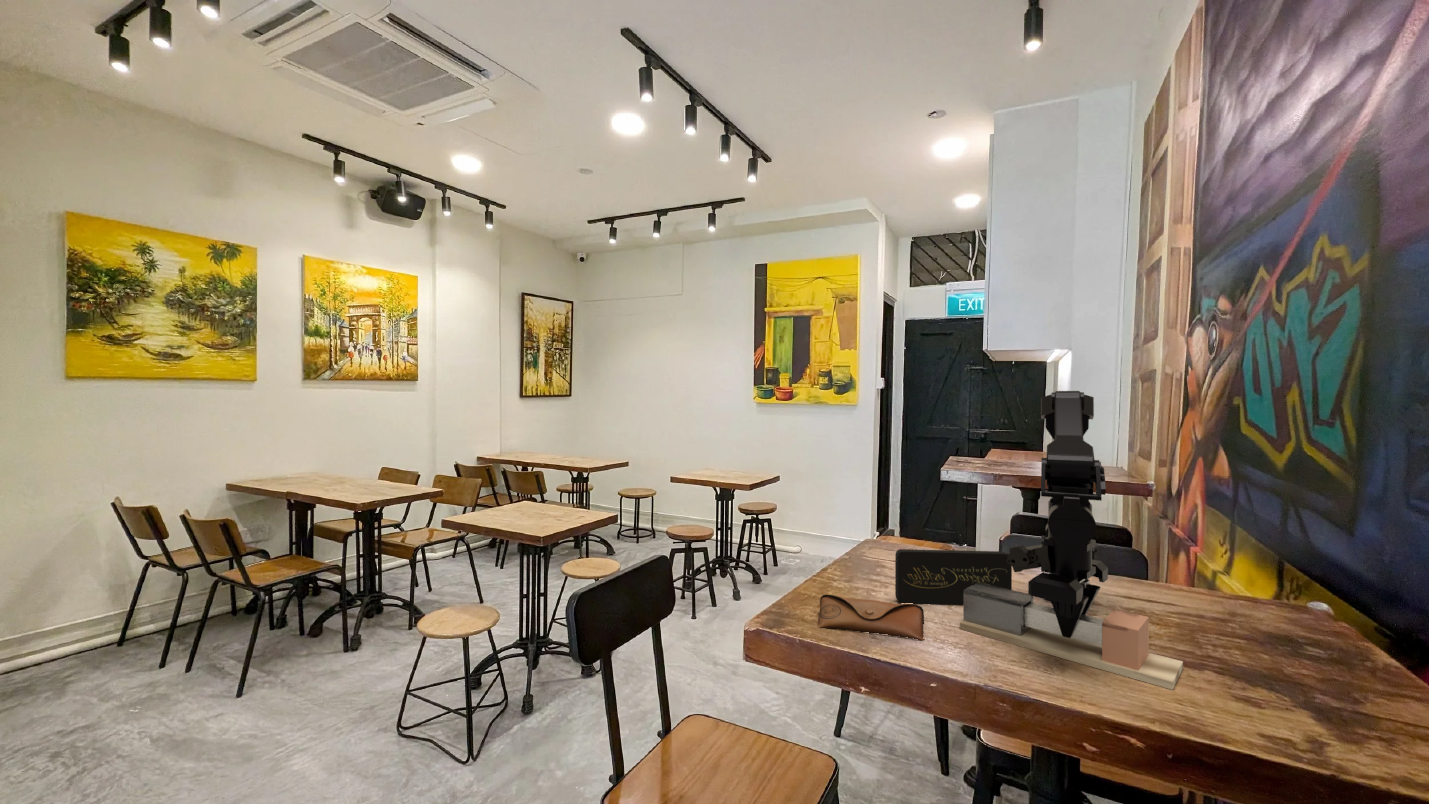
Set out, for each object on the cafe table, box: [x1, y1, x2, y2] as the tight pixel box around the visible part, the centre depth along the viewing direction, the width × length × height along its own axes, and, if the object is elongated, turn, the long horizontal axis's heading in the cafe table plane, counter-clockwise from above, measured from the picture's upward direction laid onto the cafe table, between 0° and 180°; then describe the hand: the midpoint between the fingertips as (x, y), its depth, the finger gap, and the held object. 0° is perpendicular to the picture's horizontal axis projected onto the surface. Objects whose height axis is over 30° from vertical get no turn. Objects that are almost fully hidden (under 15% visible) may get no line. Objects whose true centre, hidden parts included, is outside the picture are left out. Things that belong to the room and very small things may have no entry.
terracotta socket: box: [1102, 609, 1150, 670], centre depth 82 cm, size 7×4×6 cm, turn 134°
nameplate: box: [894, 548, 1013, 607], centre depth 107 cm, size 21×2×10 cm, turn 86°
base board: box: [959, 620, 1184, 691], centre depth 88 cm, size 9×28×1 cm, turn 44°
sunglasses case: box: [816, 594, 926, 641], centre depth 96 cm, size 18×7×7 cm
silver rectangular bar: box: [1023, 602, 1105, 646], centre depth 89 cm, size 3×17×3 cm, turn 44°
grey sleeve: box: [962, 583, 1034, 636], centre depth 94 cm, size 6×9×5 cm, turn 44°
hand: (1069, 634), depth 87 cm, fingers closed on silver rectangular bar, 3 cm apart
